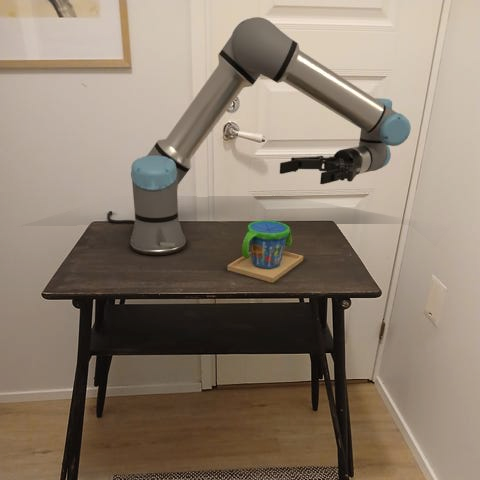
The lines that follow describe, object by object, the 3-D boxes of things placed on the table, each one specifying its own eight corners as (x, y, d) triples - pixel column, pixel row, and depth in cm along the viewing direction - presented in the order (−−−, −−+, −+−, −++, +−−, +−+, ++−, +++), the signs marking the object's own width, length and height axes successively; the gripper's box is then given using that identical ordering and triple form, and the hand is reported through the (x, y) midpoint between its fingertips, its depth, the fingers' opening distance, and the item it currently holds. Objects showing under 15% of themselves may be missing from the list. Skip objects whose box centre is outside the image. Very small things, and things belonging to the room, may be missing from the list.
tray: (227, 270, 124) (227, 265, 123) (260, 249, 137) (261, 245, 136) (272, 282, 118) (273, 278, 117) (303, 260, 131) (303, 255, 130)
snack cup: (277, 251, 135) (280, 216, 130) (302, 264, 127) (305, 227, 122) (230, 262, 127) (231, 225, 122) (253, 277, 120) (255, 238, 115)
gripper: (387, 184, 130) (338, 198, 117) (314, 167, 145) (264, 178, 132) (392, 155, 126) (342, 166, 113) (316, 141, 141) (266, 150, 129)
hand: (300, 173), depth 123 cm, fingers open, 13 cm apart
